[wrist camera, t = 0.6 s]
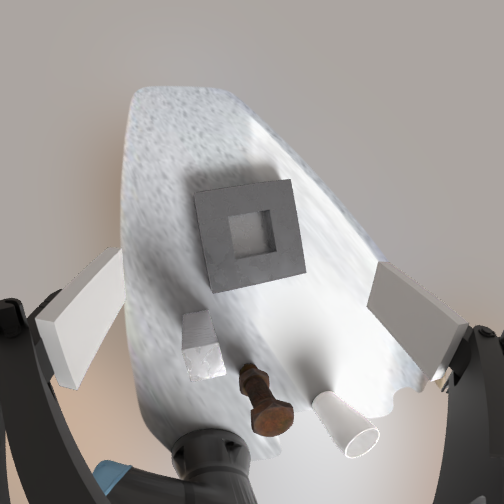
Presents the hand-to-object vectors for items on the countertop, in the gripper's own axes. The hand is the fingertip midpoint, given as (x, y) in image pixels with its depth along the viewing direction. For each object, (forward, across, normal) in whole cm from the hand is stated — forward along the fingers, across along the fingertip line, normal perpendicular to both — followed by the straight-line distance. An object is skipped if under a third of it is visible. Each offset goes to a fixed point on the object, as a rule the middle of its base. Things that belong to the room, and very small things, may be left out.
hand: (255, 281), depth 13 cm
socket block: (+29, -3, +5) cm, 29 cm away
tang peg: (+24, +4, +19) cm, 31 cm away
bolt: (+23, -4, +27) cm, 36 cm away
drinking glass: (+22, -20, +36) cm, 46 cm away
